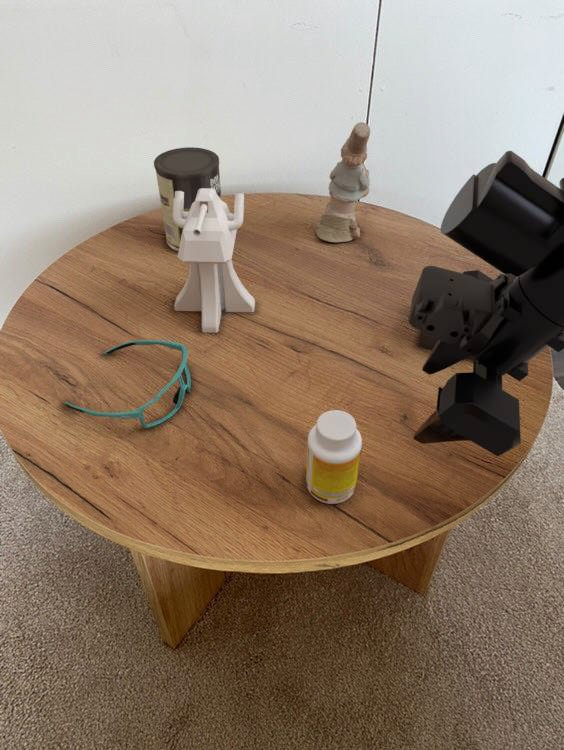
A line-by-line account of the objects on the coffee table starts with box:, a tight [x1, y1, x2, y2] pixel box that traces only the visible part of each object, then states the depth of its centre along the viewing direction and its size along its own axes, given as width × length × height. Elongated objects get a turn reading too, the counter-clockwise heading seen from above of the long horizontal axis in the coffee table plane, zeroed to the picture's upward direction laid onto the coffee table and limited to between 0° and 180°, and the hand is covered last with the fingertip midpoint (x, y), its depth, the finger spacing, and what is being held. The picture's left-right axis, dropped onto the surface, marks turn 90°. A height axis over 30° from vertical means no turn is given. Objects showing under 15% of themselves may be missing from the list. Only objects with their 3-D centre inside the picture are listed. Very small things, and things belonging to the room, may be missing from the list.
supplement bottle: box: [305, 409, 363, 505], centre depth 61 cm, size 6×6×10 cm
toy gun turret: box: [173, 188, 256, 334], centre depth 81 cm, size 12×13×18 cm
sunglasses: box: [64, 339, 192, 429], centre depth 74 cm, size 14×15×5 cm
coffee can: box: [153, 146, 222, 253], centre depth 97 cm, size 10×10×14 cm
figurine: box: [314, 122, 371, 243], centre depth 96 cm, size 9×8×20 cm
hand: (421, 403), depth 56 cm, fingers open, 9 cm apart
